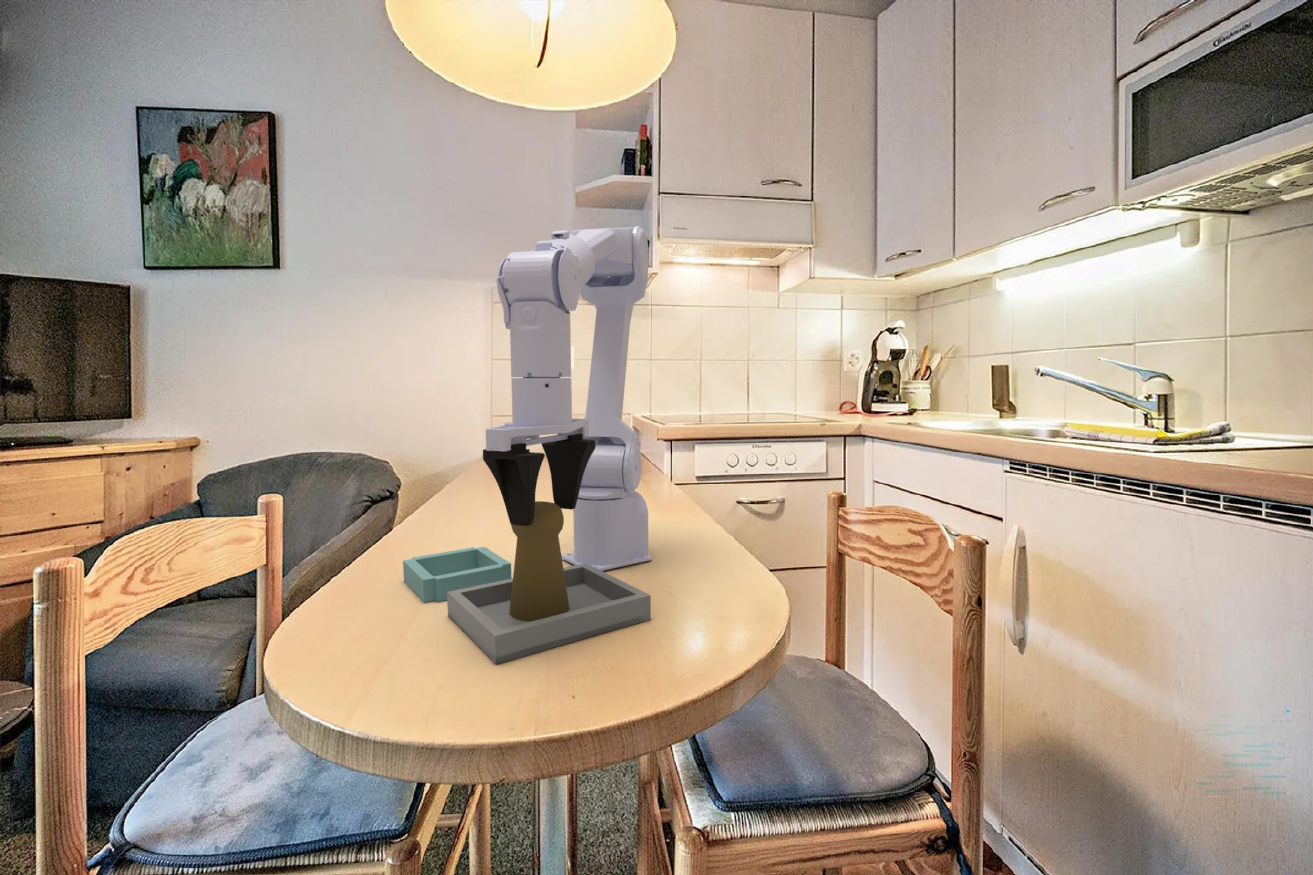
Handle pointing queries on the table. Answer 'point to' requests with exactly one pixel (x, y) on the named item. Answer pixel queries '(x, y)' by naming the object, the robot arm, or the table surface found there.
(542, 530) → the cork
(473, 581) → the teal collar
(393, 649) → the table surface
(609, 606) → the charcoal tray
